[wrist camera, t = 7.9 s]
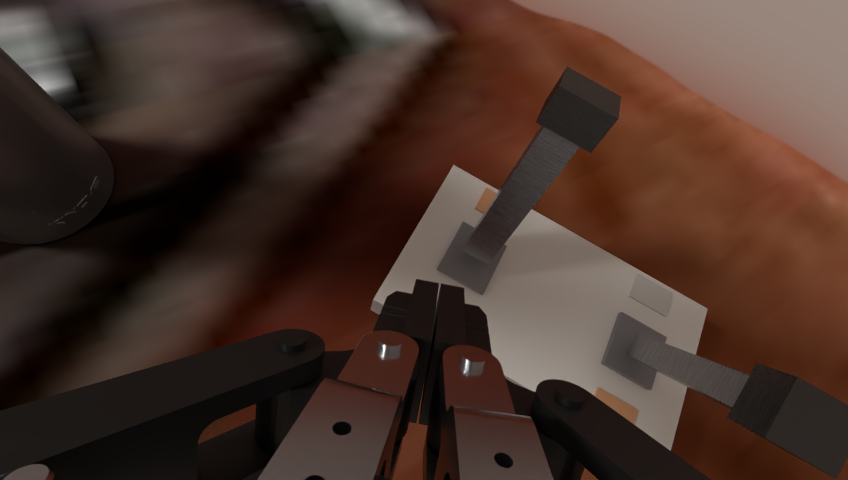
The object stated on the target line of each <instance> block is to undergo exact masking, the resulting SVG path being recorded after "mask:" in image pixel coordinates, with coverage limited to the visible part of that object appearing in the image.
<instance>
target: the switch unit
mask: <svg viewBox="0 0 848 480" xmlns="http://www.w3.org/2000/svg"><path fill="white" fill-rule="evenodd" d="M498 191H499V190H497V189H495V188H493V187H492V186H490V185H488V184H486V183H485V182H483V181H481V180H479V179H478V178H476V177H474V176H472V175H470V174H469V173H467V172H465V171H463V170H462V169H460V168H458V167H456V166H455V165H453V167H452V169H451V170H450V172H449V174H448V175H447V177H446V179H445V180H444V182H443V184H442V185H441V187H440V189H439V190H438V192H437V194H436V195H435V197H434V199H433V200H432V202H431V204H430V205H429V207H428V209H427V210H426V212H425V214H424V215H423V217H422V219H421V220H420V222H419V224H418V225H417V227H416V229H415V230H414V232H413V234H412V235H411V237H410V239H409V240H408V242H407V244H406V245H405V247H404V249H403V250H402V252H401V254H400V255H399V257H398V259H397V260H396V262H395V264H394V265H393V267H392V269H391V270H390V272H389V274H388V275H387V277H386V279H385V280H384V282H383V284H382V285H381V287H380V289H379V290H378V292H377V294H376V295H375V297H374V299H373V302H372V306H371V309H370V310H372V311H373V312H375V313H377V314H379V315H380V313H381V310H382V307H383V305H384V302H385V300H386V297H387V296H389V295H390V294H392V293H394V292H395V291H400V292H406V293H411V294H412V293H413V289H414V285H415V281H416V279H420V280H425V281H431V282H436V283H439V288H438V296H439V290H440V286H441V283H442V284H447V285H453V286H458V287H463V288H464V298H465V304H470V305H476V306H479V307H480V308H481V309H482V310H483V312H484V313H485V314H486V315H487V322H488V329H489V337H490V344H491V351H492V355H493V356H495V357H496V358H497V359H498V360H499V362H500V363H501V366H502V369H503V373H504V376H505V378H506V379H508V380H509V381H511V382H513V383H514V384H517V385H519V386H521V387H524V388H526V389H529V390H531V391H534V392H536V388H537V386H538V384H539V383H540V382H542V381H544V380H548V379H558V380H564V381H568V382H571V383H573V384H576V385H578V386H580V387H582V388H584V389H585V390H587V391H588V392H590V393H591V394H592V395H594V396H595V397H597V398H598V399H599V400H601V401H602V402H604V403H605V404H606V405H608V406H609V407H611V408H612V409H613V410H615V411H616V412H617V413H619V414H620V415H622V416H623V417H624V418H626V419H627V420H629V421H630V422H631V423H633V424H634V425H635V426H637V427H638V428H640V429H641V430H642V431H644V432H645V433H647V434H648V435H649V436H651V437H652V438H653V439H655V440H656V441H658V442H659V443H660V444H662V445H663V446H665V447H666V448H667V449H669V450H670V451H671V448H672V444H673V440H674V436H675V433H676V429H677V425H678V421H679V417H680V413H681V410H682V406H683V402H684V398H685V394H686V390H687V386H685V385H683V384H681V383H679V382H677V381H675V380H673V379H671V378H669V377H667V376H665V375H663V374H661V373H659V372H657V371H655V370H653V369H652V368H650V367H648V366H646V365H645V364H643V363H641V362H639V361H638V360H636V359H634V358H632V357H631V356H629V355H627V354H626V353H627V351H628V350H629V348H630V346H631V344H632V342H633V341H634V339H635V337H636V335H637V333H639V334H641V335H644V336H647V337H649V338H652V339H655V340H657V341H660V342H663V343H665V344H668V345H671V346H673V347H676V348H679V349H681V350H684V351H687V352H689V353H692V354H695V355H696V352H697V348H698V344H699V340H700V336H701V333H702V329H703V325H704V321H705V317H706V313H707V308H705V307H704V306H702V305H700V304H698V303H696V302H695V301H693V300H691V299H689V298H688V297H686V296H684V295H682V294H681V293H679V292H677V291H675V290H674V289H672V288H670V287H668V286H666V285H665V284H663V283H661V282H659V281H658V280H656V279H654V278H652V277H651V276H649V275H647V274H645V273H644V272H642V271H640V270H638V269H636V268H635V267H633V266H631V265H629V264H628V263H626V262H624V261H622V260H621V259H619V258H617V257H615V256H613V255H612V254H610V253H608V252H606V251H605V250H603V249H601V248H599V247H598V246H596V245H594V244H592V243H591V242H589V241H587V240H585V239H583V238H582V237H580V236H578V235H576V234H575V233H573V232H571V231H569V230H568V229H566V228H564V227H562V226H561V225H559V224H557V223H555V222H553V221H552V220H550V219H548V218H546V217H545V216H543V215H541V214H539V213H538V212H536V211H534V210H532V209H531V210H530V212H529V213H528V214H527V216H526V217H525V218H524V219H523V221H522V222H521V223H520V225H519V226H518V227H517V228H516V230H515V231H514V232H513V234H512V235H511V236H510V237H509V239H508V240H507V241H506V243H505V244H504V245H503V247H502V248H501V249H500V250H499V252H498V253H497V254H496V256H495V257H494V258H493V259H492V261H491V262H490V263H489V265H487V264H485V263H483V262H481V261H480V260H478V259H476V258H474V257H473V256H471V255H469V254H467V253H466V252H464V251H462V249H463V247H464V245H465V243H466V241H467V239H468V237H469V235H470V233H471V232H472V230H473V229H474V227H475V226H476V224H477V223H478V221H479V220H480V218H481V217H482V215H483V214H484V212H485V211H486V209H487V208H488V206H489V205H490V203H491V202H492V200H493V199H494V197H495V195H496V194H497V192H498ZM438 296H437V301H438ZM436 306H437V304H436Z"/></svg>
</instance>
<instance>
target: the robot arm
mask: <svg viewBox="0 0 848 480" xmlns="http://www.w3.org/2000/svg"><path fill="white" fill-rule="evenodd" d="M113 184H114V169H113V166H112V162H111V159H110V158H109V156H108V155H107V153H106V151H105V150H104V149H103V148H102V147H101V146H100V145H99V144H98V143H97V142H96V141H95V140H94V139H93V138H92V137H91V136H90V135H89V134H88V133H87V132H86V131H85V130H84V129H83V128H82V127H81V126H80V125H79V124H78V123H77V122H76V121H75V120H74V119H73V118H72V117H71V116H70V115H69V114H68V113H67V112H66V111H65V110H64V109H63V108H62V107H61V106H60V105H59V104H58V103H57V102H56V101H55V100H54V99H53V98H52V97H51V96H49V95H48V94H47V93H46V92H45V91H44V90H43V89H42V88H41V87H40V86H39V85H38V84H37V83H36V82H35V81H34V80H33V79H32V78H31V77H30V76H29V75H28V74H27V73H26V72H25V71H24V70H23V69H22V68H21V67H20V66H19V65H18V64H17V63H16V62H15V61H14V60H13V59H12V58H11V57H10V56H9V55H8V54H7V53H5V52H4V51H3V50H2V49H1V48H0V240H2V241H5V242H8V243H15V244H24V245H26V244H41V243H46V242H50V241H55V240H58V239H60V238H63V237H65V236H68V235H70V234H73V233H74V232H76V231H78V230H79V229H81V228H83V227H84V226H86V225H87V224H88V223H89V222H90V221H91V220H93V219H94V218H95V217H96V216H97V215H98V214H99V213H100V211H101V210H102V209H103V207H104V206H105V205H106V203H107V201H108V199H109V197H110V195H111V193H112V189H113ZM438 288H439V283H436V282H431V281H425V280H420V279H416V281H415V285H414V289H413V293H412V294H411V293H406V292H400V291H395V292H394V293H392V294H390V295H389V296H387V297H386V300H385V302H384V305H383V307H382V310H381V313H380V315H379V317H378V320H377V322H376V325H375V327H374V330H373V332H370V333H368V334H366V335H365V336H363V337H362V339H361V340H360V342H359V343H358V345H357V347H356V348H355V349H353V350H349V351H324V350H325V344H324V341H323V340H322V338H320V337H319V336H318V335H316V334H314V333H312V332H309V331H306V330H300V329H284V330H279V331H275V332H271V333H268V334H265V335H261V336H258V337H254V338H251V339H247V340H244V341H240V342H237V343H233V344H230V345H226V346H223V347H220V348H216V349H213V350H209V351H206V352H202V353H199V354H195V355H192V356H188V357H185V358H182V359H178V360H175V361H171V362H168V363H164V364H161V365H157V366H154V367H150V368H147V369H144V370H140V371H137V372H133V373H130V374H126V375H123V376H119V377H116V378H112V379H109V380H105V381H102V382H99V383H95V384H92V385H88V386H85V387H81V388H78V389H74V390H71V391H67V392H64V393H61V394H57V395H54V396H50V397H47V398H43V399H40V400H36V401H33V402H29V403H26V404H23V405H19V406H16V407H12V408H9V409H5V410H2V411H0V480H392V479H393V475H394V472H395V468H396V464H397V461H398V457H399V454H400V450H401V446H402V440H403V437H404V436H405V434H406V432H407V429H408V424H409V422H412V423H416V421H417V416H418V410H419V405H420V400H421V395H422V390H423V395H422V403H421V410H420V418H419V424H423V425H428V428H427V435H426V440H425V445H424V449H423V480H580V479H581V476H582V473H583V471H584V468H586V469H587V470H588V471H590V472H591V473H592V474H593V475H594V476H595V477H596V478H597V479H599V480H710V479H709V478H708V477H706V476H705V475H703V474H702V473H701V472H699V471H698V470H696V469H695V468H694V467H692V466H691V465H690V464H688V463H687V462H685V461H684V460H683V459H681V458H680V457H678V456H677V455H676V454H674V453H673V452H671V451H670V450H669V449H667V448H666V447H665V446H663V445H662V444H660V443H659V442H658V441H656V440H655V439H653V438H652V437H651V436H649V435H648V434H647V433H645V432H644V431H642V430H641V429H640V428H638V427H637V426H635V425H634V424H633V423H631V422H630V421H629V420H627V419H626V418H624V417H623V416H622V415H620V414H619V413H617V412H616V411H615V410H613V409H612V408H611V407H609V406H608V405H606V404H605V403H604V402H602V401H601V400H599V399H598V398H597V397H595V396H594V395H592V394H591V393H590V392H588V391H587V390H585V389H584V388H582V387H580V386H578V385H576V384H573V383H571V382H568V381H564V380H558V379H548V380H544V381H542V382H540V383H539V384H538V386H537V388H536V392H534V391H531V390H529V389H526V388H524V387H521V386H519V385H517V384H514V383H513V382H511V381H509V380H508V379H506V378H505V376H504V373H503V369H502V366H501V363H500V362H499V360H498V359H497V358H496V357H495V356H493V355H492V351H491V344H490V337H489V329H488V322H487V315H486V314H485V313H484V312H483V310H482V309H481V308H480V307H479V306H476V305H470V304H465V298H464V288H463V287H458V286H453V285H447V284H442V283H441V286H440V290H439V296H438ZM437 296H438V301H437ZM436 304H437V306H436ZM424 379H425V380H424ZM423 385H424V388H423ZM253 404H256V417H255V420H253V421H250V422H248V423H246V424H243V425H241V426H239V427H237V428H234V429H232V430H230V431H227V432H225V433H223V434H221V435H218V436H216V437H214V438H211V439H209V440H207V441H205V442H202V443H200V444H198V439H199V437H200V435H201V433H202V432H203V430H204V429H205V428H206V427H207V426H208V425H209V424H211V423H212V422H214V421H215V420H217V419H219V418H222V417H224V416H227V415H229V414H231V413H234V412H236V411H239V410H241V409H244V408H246V407H249V406H251V405H253Z"/></svg>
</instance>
